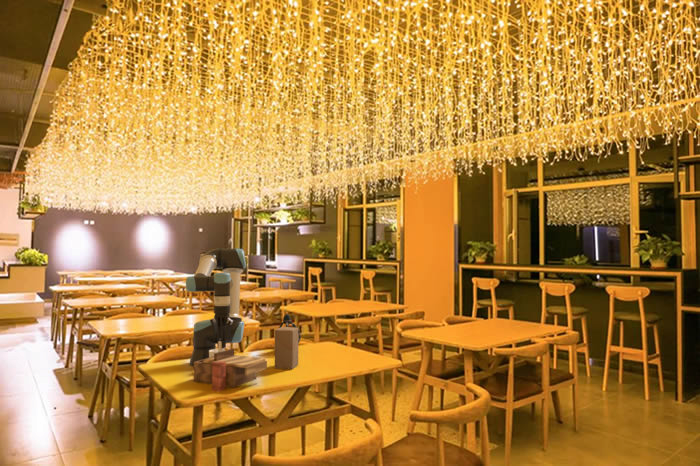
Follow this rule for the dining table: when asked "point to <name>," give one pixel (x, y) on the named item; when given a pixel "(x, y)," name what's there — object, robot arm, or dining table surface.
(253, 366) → the lid
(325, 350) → the dining table surface
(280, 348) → the wooden block
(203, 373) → the toolbox
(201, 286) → the robot arm
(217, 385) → the reddish-brown wooden bar
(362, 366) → the dining table surface
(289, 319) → the teapot
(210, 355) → the white cup
